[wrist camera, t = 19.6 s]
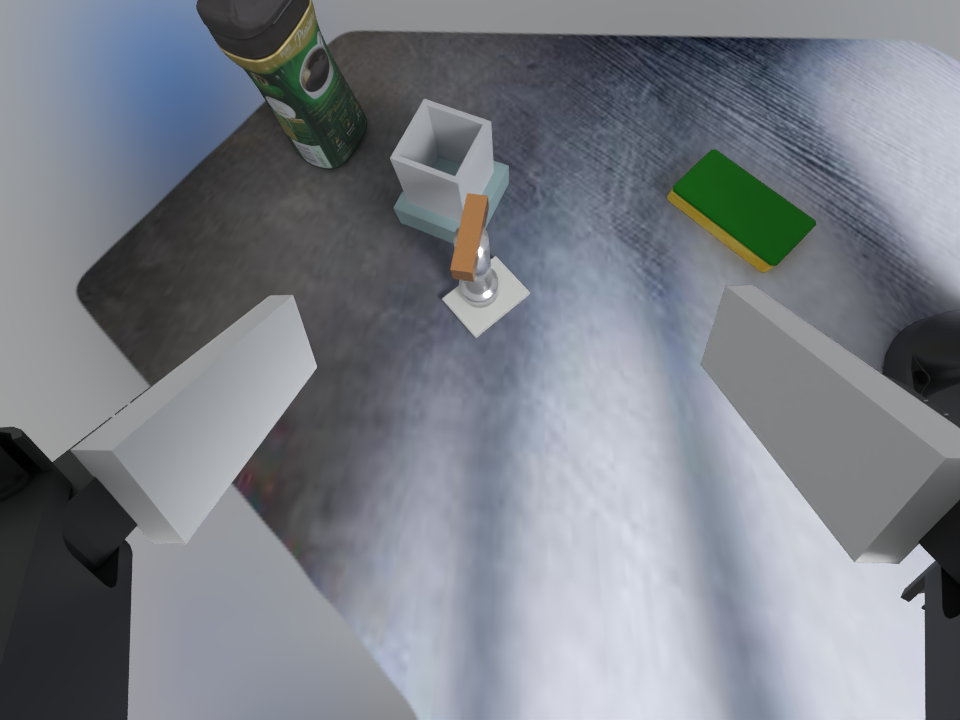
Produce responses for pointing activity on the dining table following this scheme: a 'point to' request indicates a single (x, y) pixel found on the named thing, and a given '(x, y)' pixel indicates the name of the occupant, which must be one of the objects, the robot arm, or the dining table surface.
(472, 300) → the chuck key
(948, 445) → the robot arm
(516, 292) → the mat
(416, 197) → the square tube
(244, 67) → the coffee jar
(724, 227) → the dish sponge
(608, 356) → the dining table surface
